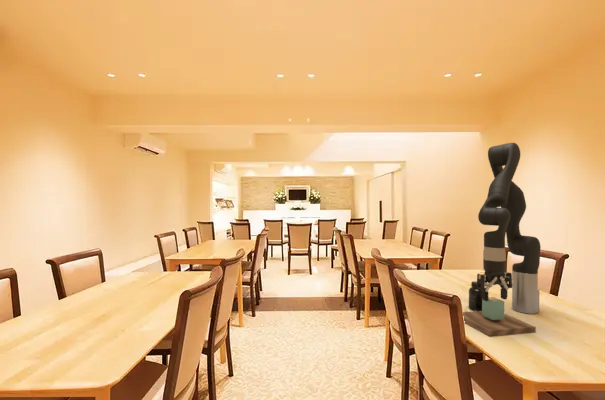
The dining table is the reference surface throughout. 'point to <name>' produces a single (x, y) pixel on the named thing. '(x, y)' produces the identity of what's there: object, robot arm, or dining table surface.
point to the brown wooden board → (497, 324)
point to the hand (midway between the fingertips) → (494, 299)
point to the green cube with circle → (493, 308)
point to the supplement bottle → (475, 297)
